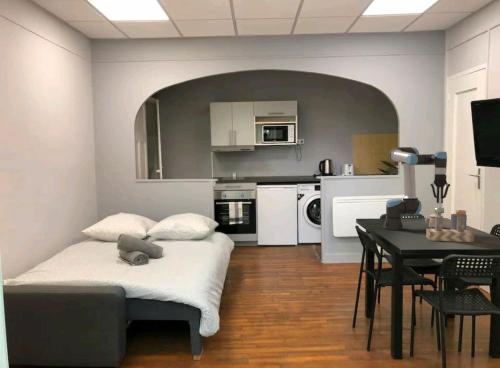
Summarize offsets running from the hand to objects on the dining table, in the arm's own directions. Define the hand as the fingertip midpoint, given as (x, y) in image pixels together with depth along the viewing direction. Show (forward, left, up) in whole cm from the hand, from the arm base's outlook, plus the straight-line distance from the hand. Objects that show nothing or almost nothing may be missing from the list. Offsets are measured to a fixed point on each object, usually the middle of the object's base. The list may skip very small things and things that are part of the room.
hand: (439, 207), depth 299 cm
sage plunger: (0, 0, -15) cm, 15 cm away
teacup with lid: (+6, +50, -22) cm, 55 cm away
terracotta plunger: (+14, 0, -16) cm, 21 cm away
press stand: (+7, 0, -22) cm, 23 cm away
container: (+17, +18, -22) cm, 33 cm away
